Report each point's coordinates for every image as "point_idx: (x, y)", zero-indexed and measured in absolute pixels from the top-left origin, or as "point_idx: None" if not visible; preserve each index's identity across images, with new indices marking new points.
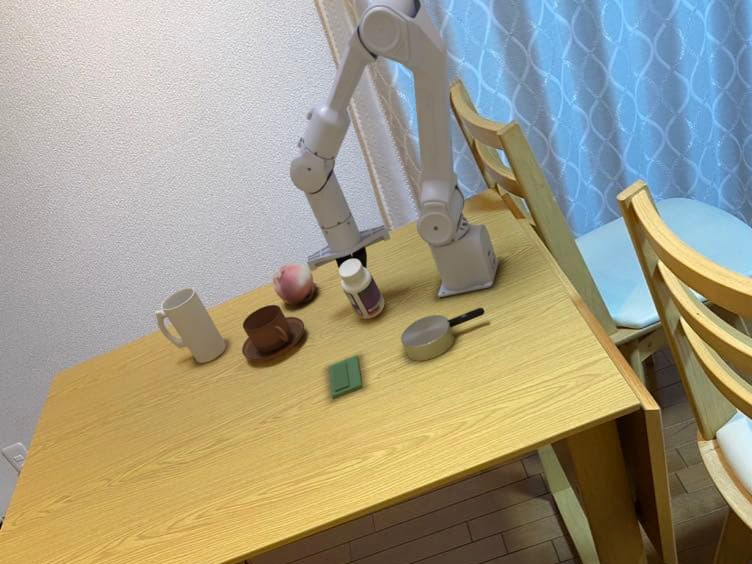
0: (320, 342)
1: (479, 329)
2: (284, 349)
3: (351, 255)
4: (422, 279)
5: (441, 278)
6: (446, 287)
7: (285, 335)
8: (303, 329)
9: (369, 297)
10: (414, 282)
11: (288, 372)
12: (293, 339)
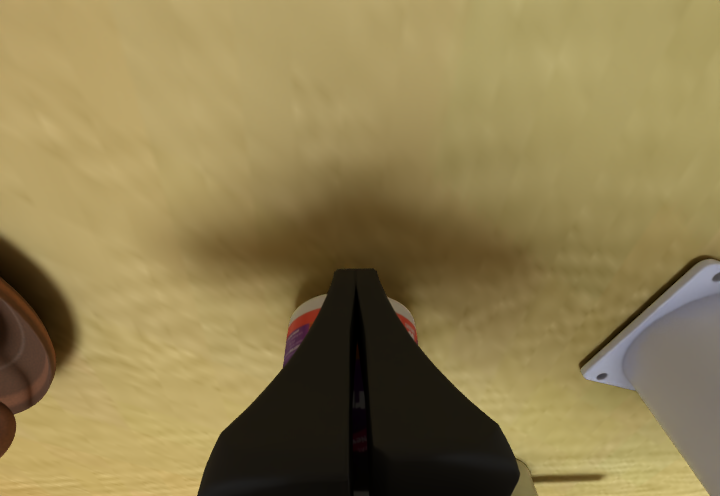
0: (152, 362)
1: (576, 483)
2: (15, 412)
3: (349, 427)
4: (602, 228)
5: (647, 389)
6: (627, 373)
7: (3, 453)
8: (48, 345)
9: None
10: (565, 227)
11: (77, 426)
12: (4, 317)
